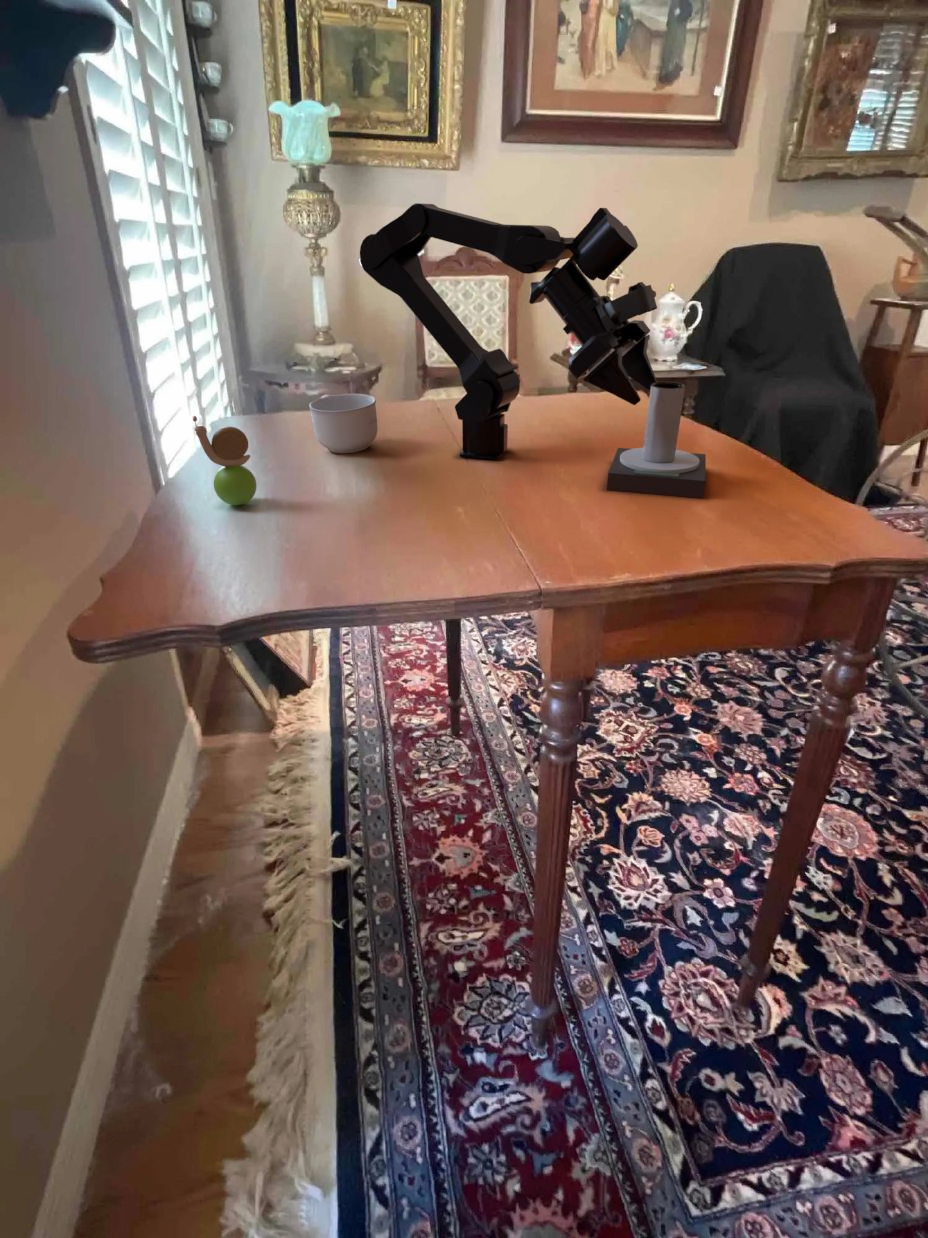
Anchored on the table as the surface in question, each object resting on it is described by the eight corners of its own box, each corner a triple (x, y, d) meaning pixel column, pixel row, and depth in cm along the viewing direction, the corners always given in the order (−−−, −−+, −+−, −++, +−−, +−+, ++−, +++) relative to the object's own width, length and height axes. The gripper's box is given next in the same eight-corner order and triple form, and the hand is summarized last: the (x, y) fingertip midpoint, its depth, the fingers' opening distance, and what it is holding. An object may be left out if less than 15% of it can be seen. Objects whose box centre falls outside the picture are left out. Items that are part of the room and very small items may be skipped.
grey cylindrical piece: (658, 465, 97) (669, 389, 92) (635, 457, 100) (644, 383, 95) (681, 459, 99) (692, 385, 94) (657, 452, 102) (666, 380, 97)
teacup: (386, 453, 114) (383, 403, 110) (321, 460, 110) (315, 410, 106) (365, 433, 125) (361, 387, 121) (305, 439, 122) (299, 392, 118)
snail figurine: (209, 501, 94) (191, 412, 89) (257, 495, 96) (242, 407, 90) (211, 514, 90) (192, 421, 84) (261, 508, 92) (246, 416, 86)
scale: (606, 489, 97) (608, 468, 96) (616, 463, 108) (618, 443, 106) (702, 498, 94) (706, 476, 92) (702, 470, 105) (706, 450, 103)
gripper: (600, 263, 83) (678, 367, 84) (644, 257, 97) (710, 346, 98) (537, 329, 90) (609, 424, 91) (586, 315, 105) (648, 397, 105)
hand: (647, 396), depth 96 cm, fingers open, 9 cm apart
